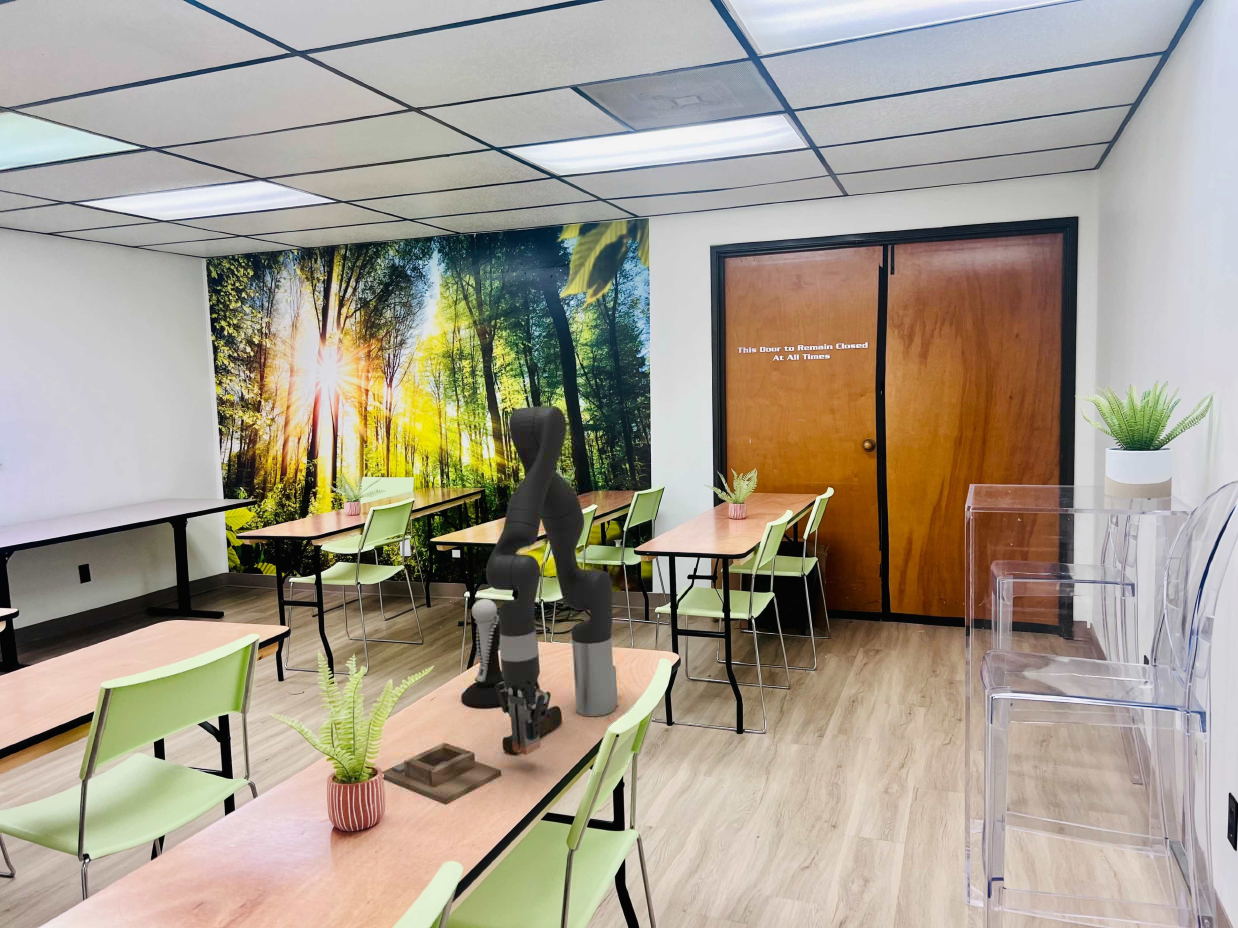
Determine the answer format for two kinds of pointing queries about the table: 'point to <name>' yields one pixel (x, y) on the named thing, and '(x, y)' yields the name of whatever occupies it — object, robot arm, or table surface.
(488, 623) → the sculpture
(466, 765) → the stand
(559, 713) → the dark wooden branch
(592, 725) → the table surface
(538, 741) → the grey square peg
